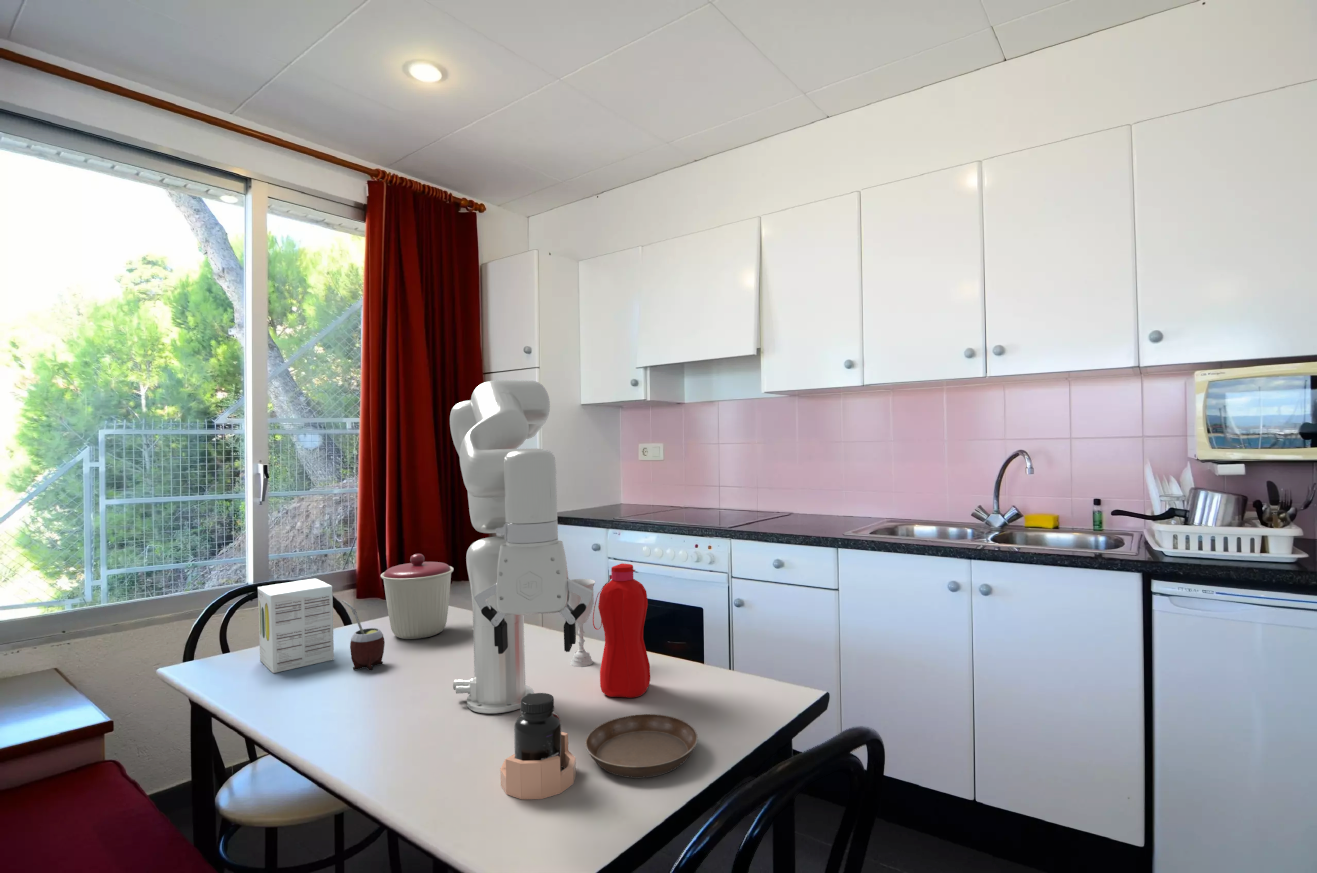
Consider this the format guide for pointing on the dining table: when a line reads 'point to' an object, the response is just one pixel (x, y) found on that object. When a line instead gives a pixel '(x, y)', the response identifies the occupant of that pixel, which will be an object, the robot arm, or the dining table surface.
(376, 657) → the mate gourd
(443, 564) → the canister
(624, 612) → the water bottle
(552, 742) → the supplement bottle
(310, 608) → the supplement box
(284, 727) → the dining table surface
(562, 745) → the holder cup
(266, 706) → the dining table surface
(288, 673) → the dining table surface
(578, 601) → the chalice
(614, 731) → the plant saucer
